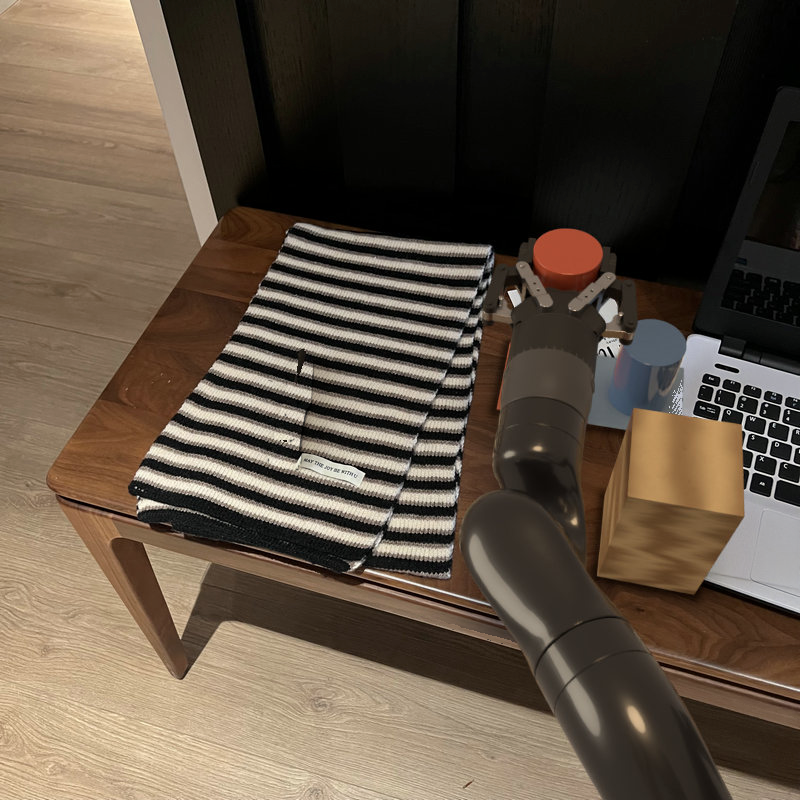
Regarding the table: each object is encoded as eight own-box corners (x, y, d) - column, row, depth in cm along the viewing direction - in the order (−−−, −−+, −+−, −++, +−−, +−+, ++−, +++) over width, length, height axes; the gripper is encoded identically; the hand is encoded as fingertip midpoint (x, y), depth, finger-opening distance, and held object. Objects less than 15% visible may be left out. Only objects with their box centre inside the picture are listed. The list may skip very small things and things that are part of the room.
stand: (693, 515, 79) (742, 424, 66) (692, 597, 73) (744, 516, 61) (603, 499, 80) (633, 407, 67) (596, 578, 75) (627, 496, 62)
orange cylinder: (593, 301, 81) (607, 234, 74) (583, 346, 77) (597, 279, 70) (532, 290, 82) (540, 223, 75) (520, 333, 78) (527, 267, 71)
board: (682, 373, 90) (684, 367, 89) (680, 443, 84) (682, 438, 83) (509, 347, 93) (509, 342, 92) (496, 414, 87) (496, 409, 86)
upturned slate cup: (667, 377, 88) (687, 323, 81) (665, 422, 84) (686, 370, 77) (609, 368, 89) (624, 315, 82) (605, 413, 85) (620, 360, 78)
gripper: (463, 394, 70) (493, 268, 80) (626, 420, 68) (636, 286, 77) (466, 339, 64) (497, 209, 74) (644, 365, 62) (652, 227, 71)
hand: (568, 249), depth 75 cm, fingers closed on orange cylinder, 6 cm apart
